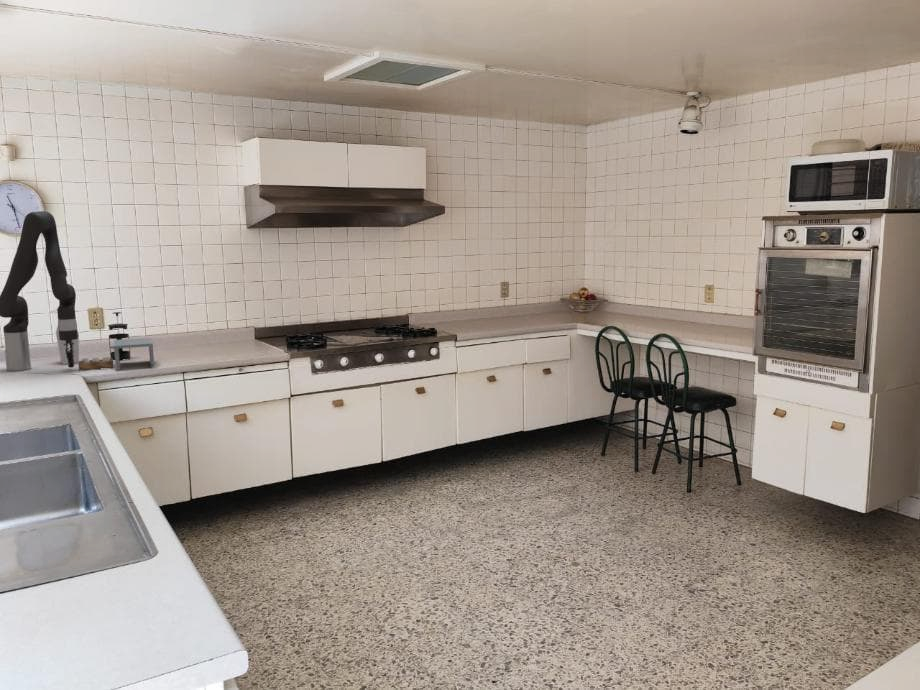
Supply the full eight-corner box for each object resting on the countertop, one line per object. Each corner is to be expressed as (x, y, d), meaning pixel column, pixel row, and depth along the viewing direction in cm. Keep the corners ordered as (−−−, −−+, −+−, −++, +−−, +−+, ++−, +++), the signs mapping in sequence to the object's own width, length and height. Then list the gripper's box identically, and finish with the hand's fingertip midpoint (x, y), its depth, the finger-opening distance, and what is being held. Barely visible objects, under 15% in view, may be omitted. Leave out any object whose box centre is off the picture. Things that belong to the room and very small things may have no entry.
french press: (130, 360, 357) (127, 312, 353) (109, 361, 353) (105, 313, 349) (131, 356, 367) (127, 310, 364) (110, 357, 364) (107, 311, 360)
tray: (113, 366, 341) (112, 355, 340) (113, 368, 336) (112, 357, 335) (79, 368, 335) (78, 358, 334) (79, 370, 330) (78, 360, 329)
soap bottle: (54, 361, 353) (49, 308, 349) (77, 359, 359) (73, 307, 355) (57, 365, 343) (52, 310, 339) (81, 363, 349) (76, 309, 344)
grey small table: (115, 370, 330) (113, 346, 328) (116, 363, 348) (114, 340, 346) (154, 367, 336) (152, 343, 335) (152, 360, 354) (150, 337, 352)
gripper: (76, 330, 324) (80, 368, 327) (78, 326, 336) (81, 364, 338) (57, 331, 321) (60, 370, 323) (59, 327, 333) (63, 365, 335)
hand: (71, 367), depth 331 cm, fingers closed
